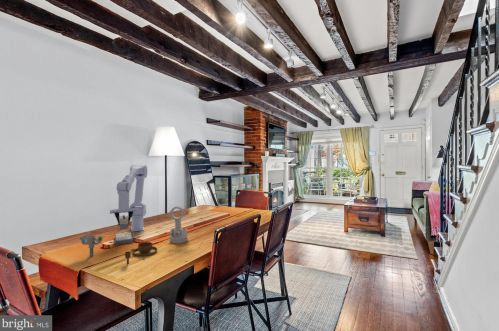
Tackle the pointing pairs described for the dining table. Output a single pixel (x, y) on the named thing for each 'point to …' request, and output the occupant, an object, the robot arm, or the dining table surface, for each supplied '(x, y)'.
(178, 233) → the engine component
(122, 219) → the housing
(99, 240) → the mechanical component
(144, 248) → the place setting
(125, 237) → the panel
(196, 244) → the dining table surface
